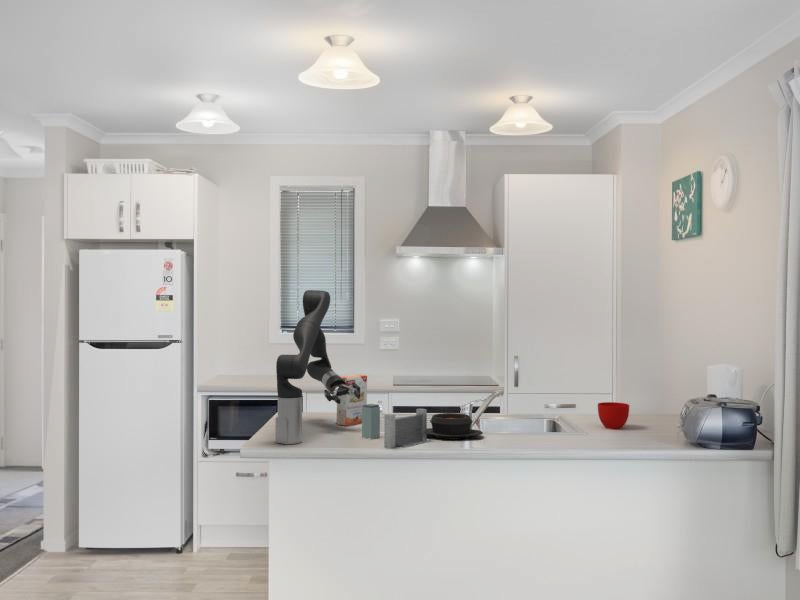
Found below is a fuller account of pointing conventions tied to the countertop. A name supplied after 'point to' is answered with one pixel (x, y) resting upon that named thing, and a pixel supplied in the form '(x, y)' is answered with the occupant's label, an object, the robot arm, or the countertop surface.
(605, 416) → the ceramic cup
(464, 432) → the casserole
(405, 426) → the grey wall block
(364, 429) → the block
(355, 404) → the cracker box
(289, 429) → the robot arm
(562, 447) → the countertop surface
